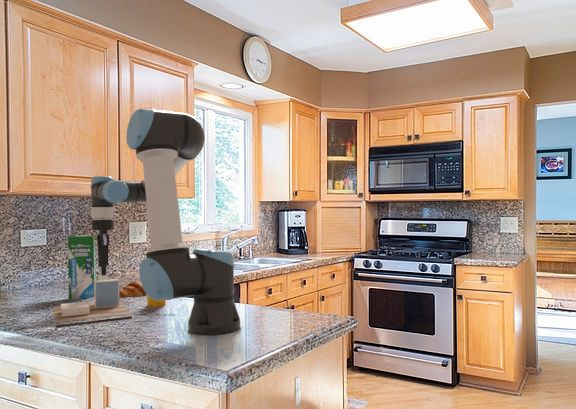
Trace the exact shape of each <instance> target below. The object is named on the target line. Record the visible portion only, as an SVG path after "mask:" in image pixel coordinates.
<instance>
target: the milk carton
mask: <svg viewBox="0 0 576 409" xmlns="http://www.w3.org/2000/svg"><path fill="white" fill-rule="evenodd" d="M67 254H68V255H67V256H68V258H67V261H68V263H67V264H68V269H67V270H68V300H69V301H70V300H72V301H73V300H81V299H83V300H84V299H91V298H93V299H94V281H97V280H96V279H97V278H96V276H97V275H96V269H97V268H96V239H95V237H94V235H76V236H68V237H67Z"/></svg>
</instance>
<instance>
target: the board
mask: <svg viewBox="0 0 576 409" xmlns="http://www.w3.org/2000/svg"><path fill="white" fill-rule="evenodd" d="M87 303H88V302H87ZM88 304H89V306H90V314H87V315H78V316H69V317H62V314H61V305H59V306H53V307H52V309H53V313H54V319H55V324H56V325H55V328H56V329H57V328H64V327H75V326H82V325H91V324H98V323H99V324H100V323H109V322H115V321H123V320H124V321H125V320H132V319H133V316H132V315H133V314H132V312H131V311H130V310H129V309H128V307H126V305H125V304H124V303H123V302H122V301H121V300H120V299H119V306H111V307H102V308H94V302H89V303H88ZM129 315H130V316H129ZM120 316H122V317H120ZM112 317H114V318H112ZM101 318H105V319H101ZM93 319H99V320H93ZM85 320H86V321H85ZM87 320H88V321H87ZM89 320H90V321H89ZM77 321H82V322H77ZM69 322H70V323H69ZM71 322H73V323H71ZM58 323H64V324H58Z"/></svg>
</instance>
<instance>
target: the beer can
mask: <svg viewBox="0 0 576 409" xmlns="http://www.w3.org/2000/svg"><path fill="white" fill-rule="evenodd" d="M146 300H147V304H146V305H147V307H149V308H159V307H164V306H166V303H167V302H166V300H158V301H157V300H153V299H151V298H150V297H149V296H148V295H146Z"/></svg>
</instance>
